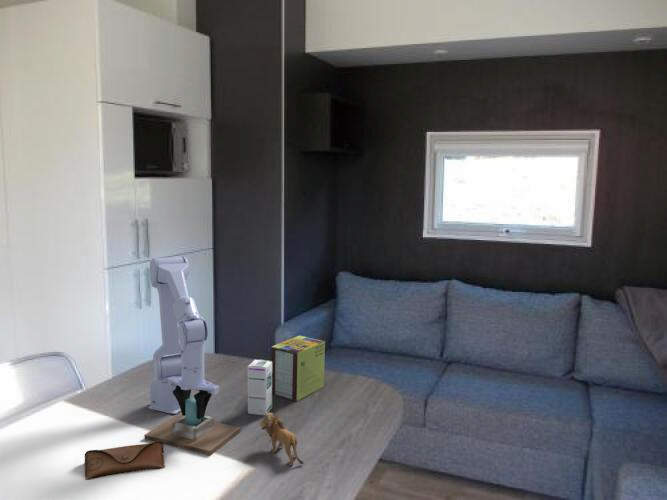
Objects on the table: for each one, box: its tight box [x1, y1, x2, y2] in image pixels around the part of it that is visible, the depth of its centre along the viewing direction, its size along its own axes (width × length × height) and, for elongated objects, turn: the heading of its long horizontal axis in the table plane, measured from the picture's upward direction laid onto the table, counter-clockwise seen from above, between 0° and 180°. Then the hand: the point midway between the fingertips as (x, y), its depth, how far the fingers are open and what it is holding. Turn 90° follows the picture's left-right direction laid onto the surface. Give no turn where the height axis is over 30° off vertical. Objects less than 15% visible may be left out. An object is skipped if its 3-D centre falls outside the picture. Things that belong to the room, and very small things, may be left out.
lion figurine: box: [258, 412, 304, 466], centre depth 139 cm, size 15×5×9 cm, turn 46°
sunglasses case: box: [84, 441, 166, 481], centre depth 132 cm, size 18×7×7 cm, turn 112°
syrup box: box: [246, 359, 273, 417], centre depth 163 cm, size 6×6×14 cm
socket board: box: [143, 413, 242, 456], centre depth 148 cm, size 20×14×4 cm
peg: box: [185, 397, 201, 427], centre depth 147 cm, size 4×4×8 cm
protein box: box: [270, 335, 326, 402], centre depth 179 cm, size 10×15×16 cm
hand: (193, 415), depth 147 cm, fingers open, 4 cm apart
